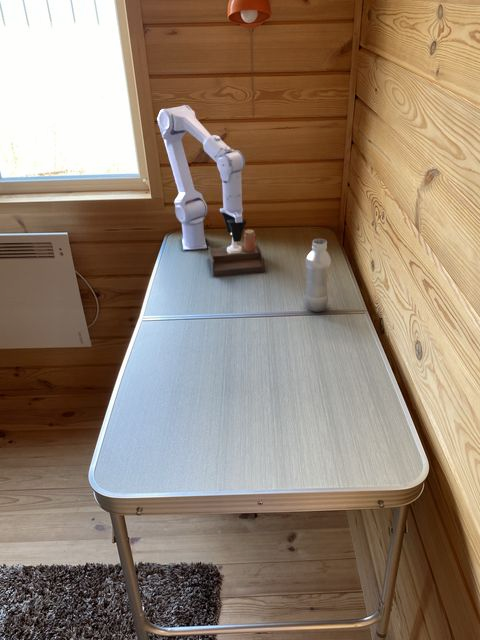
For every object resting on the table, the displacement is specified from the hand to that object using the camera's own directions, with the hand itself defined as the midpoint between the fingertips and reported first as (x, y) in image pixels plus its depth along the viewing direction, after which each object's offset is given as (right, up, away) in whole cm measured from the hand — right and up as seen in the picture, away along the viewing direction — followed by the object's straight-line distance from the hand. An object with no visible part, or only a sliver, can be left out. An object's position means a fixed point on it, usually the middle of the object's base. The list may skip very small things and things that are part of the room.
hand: (233, 236), depth 163 cm
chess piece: (0, -4, +3) cm, 5 cm away
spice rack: (+1, -9, +3) cm, 9 cm away
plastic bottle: (+24, -25, -20) cm, 40 cm away
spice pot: (+5, -3, +3) cm, 7 cm away
